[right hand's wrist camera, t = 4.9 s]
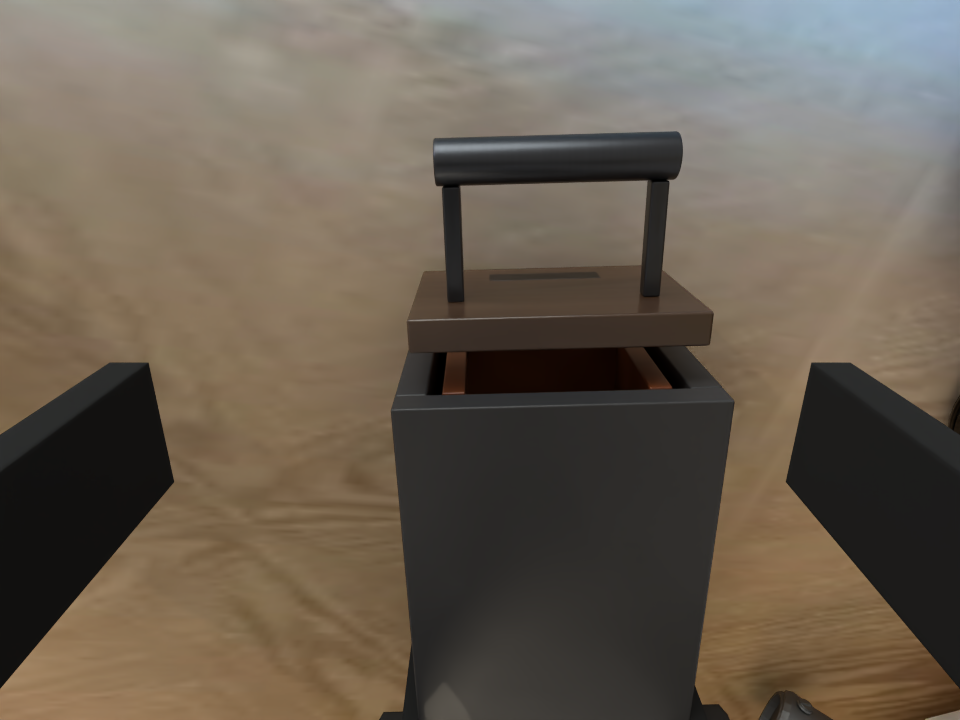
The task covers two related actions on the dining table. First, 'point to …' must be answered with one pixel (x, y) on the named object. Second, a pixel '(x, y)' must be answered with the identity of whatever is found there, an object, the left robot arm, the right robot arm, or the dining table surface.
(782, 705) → the sphere
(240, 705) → the dining table surface
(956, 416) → the supplement container
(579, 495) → the cabinet
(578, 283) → the drawer
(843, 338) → the dining table surface
